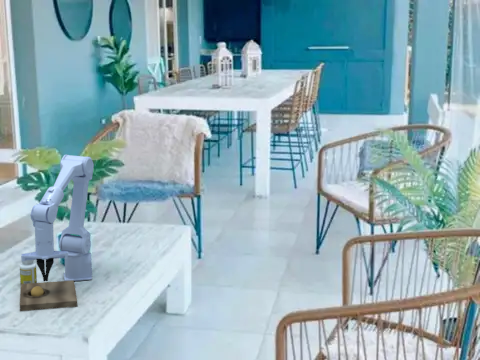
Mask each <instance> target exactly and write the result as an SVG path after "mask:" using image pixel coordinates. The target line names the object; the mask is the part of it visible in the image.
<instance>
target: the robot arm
mask: <svg viewBox="0 0 480 360" xmlns="http://www.w3.org/2000/svg"><path fill="white" fill-rule="evenodd" d="M94 166H95V165H94V162H93V159H92V157H91V156H82V155H71V154H70V155H69V154H66V153H65V154H64V155H63V156H62V158H61V159H60V164H59V167H60V169H59V170H60V171H59V173H58V175H57V177H56V179H55V182H54V183H53V186H49V187H48V188H47V190H46V191H45V193H44V195H43V196H42V198H41V200H40V201H39V203H37V204H35V205H33V207H32V209H31V210H30V211H31V212H30V216H29V217H30V219H31V221H32V226H33V227H34V240H35V241H34V245H35V248H34V249H35V251H33V252H27V253H26V252H25V253H21V262H22V261H25V260H34V261H36V266H38V268H39V271H40V273H41V276H42V280H43V282H49V276H50V271H51V269H52V267H53V265H54V262H55V261H54V260H55V259H56V260H57V259H64V272H63V281H71V280H74V282H78V281H90V280H92V279H93V276H92V275H93V264H92V263H93V262H92V260H93V259H92V253H91V252H89V251H90V250H91V246H92V242H91V233H90V231H88V230H87V228H86V227H85V218H86V217H85V216H86V211H87V201H88V191H89V182H90V181H91V180H92V179H93V174H94ZM71 181H72V182H73V187H72V189H73V190H72V197H71V205H70V206H71V207H70V213H69V223H68V226H67V227H65V228H64V229H63V230H61V234H60V235H61V236H60V238H59V242H58V247H59V249H60V250H55V241H54V237H55V236H54V222H55V221H56V219H57V216H58V215H57V214H58V212H59V211H58V210H59V207H60V204H61V202H62V201H63V199H64V198H65V197H64V196H65V193H64V191H65V189H66V188H67V186H68V185H69V184H70V182H71Z"/></svg>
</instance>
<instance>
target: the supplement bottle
mask: <svg viewBox="0 0 480 360" xmlns="http://www.w3.org/2000/svg"><path fill="white" fill-rule="evenodd" d="M19 280H20V281H19V282H20V285H21V284H28V283H38V282H37V281H38V279H37V263H35V260H25V261H22V260H21V263H20V265H19Z"/></svg>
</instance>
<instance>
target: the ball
mask: <svg viewBox="0 0 480 360" xmlns="http://www.w3.org/2000/svg"><path fill="white" fill-rule="evenodd" d="M43 293H44V291H43V289H42V288H41V287H39V286H36V287H34V288H33V289H32V290H31V295H32V296H41V295H43Z"/></svg>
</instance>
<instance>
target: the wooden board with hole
mask: <svg viewBox="0 0 480 360" xmlns="http://www.w3.org/2000/svg"><path fill="white" fill-rule="evenodd" d="M36 286H39V287H41V288H42V289H43V291H44V293H43V295H41V296H32V295H31V290H32V289H33V288H34V287H36ZM19 291H20V292H19V312H25V311H40V310H41V311H42V310H51V309H52V310H53V309H62V308H63V309H64V308H65V309H66V308H76V307H77V308H78V298H77V291H76V285H75V281H74V280H71V281H64V280H60V281H58V280H57V281H43V282H37V283H28V284H21V283H20V290H19Z"/></svg>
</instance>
